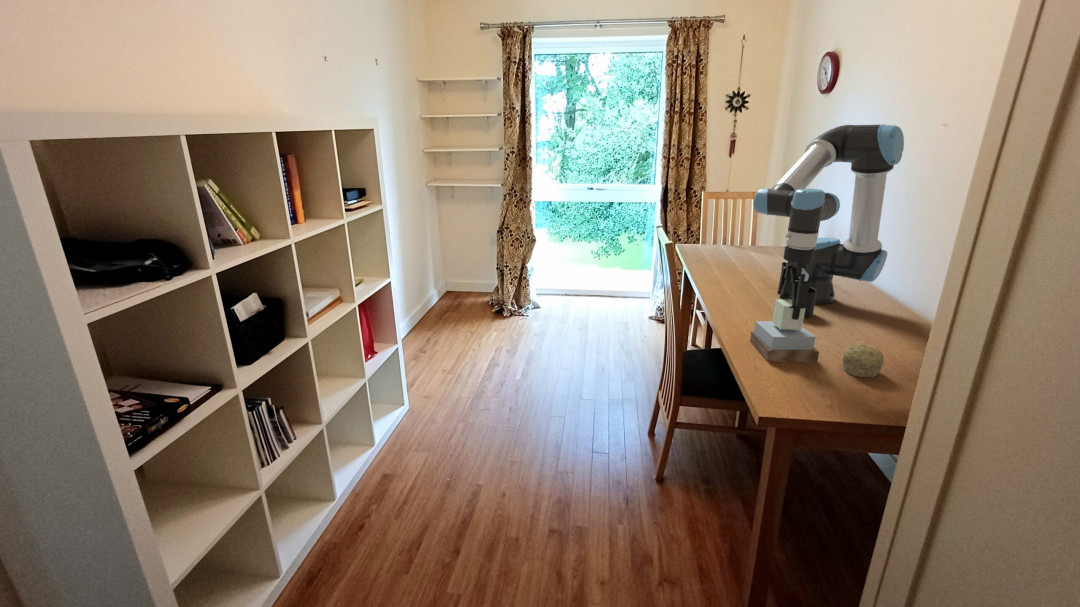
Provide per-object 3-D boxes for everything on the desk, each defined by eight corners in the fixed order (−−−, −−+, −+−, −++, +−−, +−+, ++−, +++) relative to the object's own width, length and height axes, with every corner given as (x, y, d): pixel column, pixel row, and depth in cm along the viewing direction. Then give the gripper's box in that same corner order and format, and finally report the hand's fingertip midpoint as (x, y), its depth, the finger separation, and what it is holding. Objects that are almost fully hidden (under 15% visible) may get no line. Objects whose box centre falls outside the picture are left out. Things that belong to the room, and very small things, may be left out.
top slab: (792, 333, 155) (794, 321, 154) (813, 349, 144) (815, 336, 143) (753, 333, 155) (755, 321, 154) (770, 350, 144) (773, 337, 143)
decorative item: (841, 375, 145) (827, 351, 141) (872, 355, 143) (858, 330, 140) (864, 392, 136) (850, 366, 132) (897, 371, 134) (883, 344, 131)
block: (792, 321, 151) (796, 299, 148) (801, 329, 145) (805, 306, 143) (772, 321, 151) (775, 299, 149) (780, 329, 145) (784, 306, 143)
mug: (810, 308, 186) (815, 284, 183) (814, 319, 175) (818, 294, 172) (782, 305, 189) (786, 281, 186) (783, 316, 178) (788, 291, 175)
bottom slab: (795, 344, 157) (797, 332, 156) (816, 364, 144) (819, 351, 143) (749, 343, 158) (751, 331, 157) (766, 363, 145) (768, 350, 143)
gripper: (772, 239, 149) (761, 312, 157) (801, 254, 131) (787, 337, 139) (799, 239, 149) (786, 313, 157) (831, 255, 131) (815, 337, 139)
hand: (786, 324), depth 148 cm, fingers closed on block, 6 cm apart
